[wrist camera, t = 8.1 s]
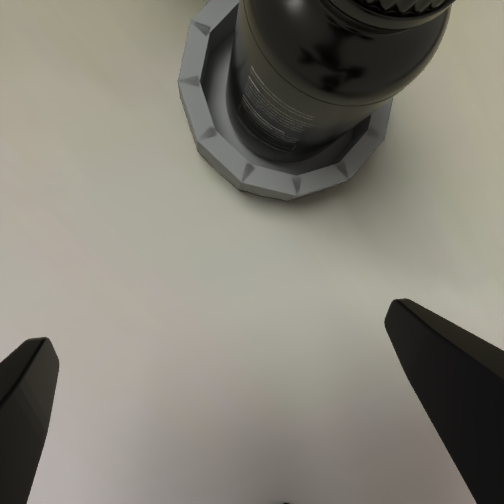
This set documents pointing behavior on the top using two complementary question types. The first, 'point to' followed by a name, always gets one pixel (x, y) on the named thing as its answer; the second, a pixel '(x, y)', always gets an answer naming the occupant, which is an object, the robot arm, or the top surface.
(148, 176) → the top surface
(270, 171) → the ring seat
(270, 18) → the supplement bottle
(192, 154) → the top surface
